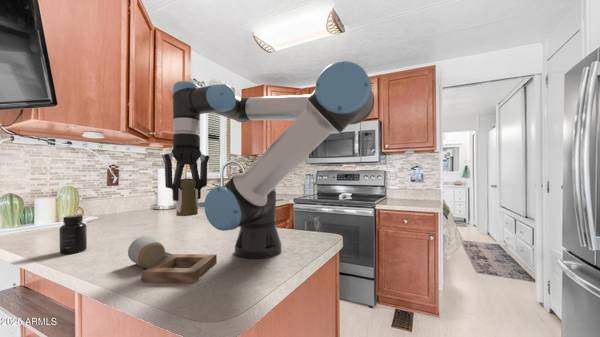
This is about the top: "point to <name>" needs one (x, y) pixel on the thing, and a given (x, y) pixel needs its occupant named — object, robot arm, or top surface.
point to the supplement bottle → (73, 235)
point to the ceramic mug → (147, 251)
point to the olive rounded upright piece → (188, 198)
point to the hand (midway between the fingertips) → (187, 210)
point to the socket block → (169, 274)
